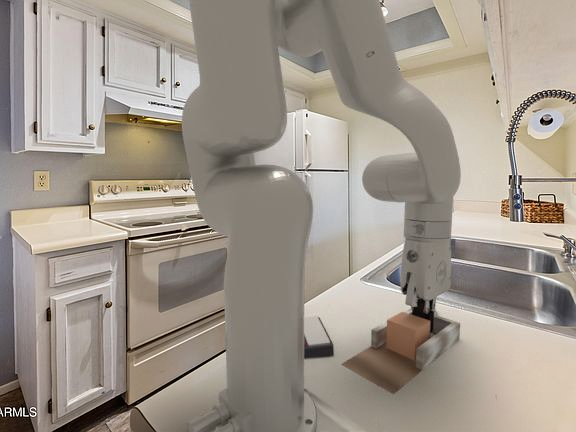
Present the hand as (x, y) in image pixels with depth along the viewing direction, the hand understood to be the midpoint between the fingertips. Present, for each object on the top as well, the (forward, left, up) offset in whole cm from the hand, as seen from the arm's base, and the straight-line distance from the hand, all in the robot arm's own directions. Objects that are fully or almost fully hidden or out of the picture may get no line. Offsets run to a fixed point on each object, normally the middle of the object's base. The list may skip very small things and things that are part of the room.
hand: (422, 330), depth 56 cm
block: (-5, 0, -2) cm, 5 cm away
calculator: (-19, +15, -4) cm, 25 cm away
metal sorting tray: (-6, 0, -3) cm, 7 cm away
